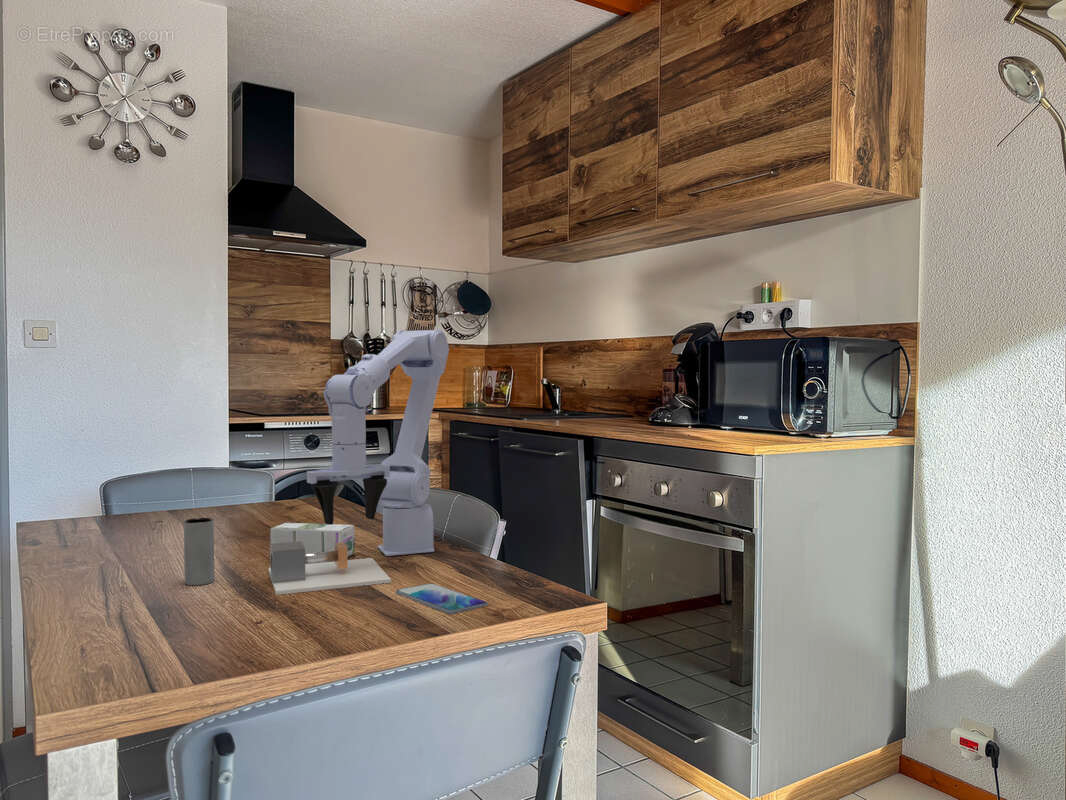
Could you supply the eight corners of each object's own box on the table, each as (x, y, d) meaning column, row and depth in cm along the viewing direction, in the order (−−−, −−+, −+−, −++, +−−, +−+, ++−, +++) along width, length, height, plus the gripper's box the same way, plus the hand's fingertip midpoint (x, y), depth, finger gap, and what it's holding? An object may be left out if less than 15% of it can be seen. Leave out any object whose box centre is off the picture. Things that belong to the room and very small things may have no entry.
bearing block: (301, 571, 132) (301, 541, 132) (305, 579, 127) (305, 548, 127) (270, 574, 130) (270, 543, 130) (273, 583, 125) (272, 551, 125)
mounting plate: (371, 561, 142) (371, 557, 142) (390, 582, 127) (390, 579, 127) (268, 571, 135) (268, 567, 135) (275, 595, 120) (275, 591, 120)
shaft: (343, 563, 134) (343, 542, 134) (347, 568, 130) (347, 547, 130) (286, 568, 130) (286, 547, 130) (288, 574, 127) (288, 552, 127)
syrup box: (269, 558, 145) (342, 562, 142) (269, 526, 144) (342, 530, 141) (285, 550, 150) (355, 555, 147) (285, 520, 150) (355, 524, 147)
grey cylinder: (220, 579, 129) (219, 518, 129) (200, 586, 125) (199, 523, 125) (198, 577, 131) (197, 516, 131) (178, 584, 127) (177, 521, 126)
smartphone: (431, 582, 126) (489, 602, 115) (431, 588, 126) (489, 608, 115) (393, 589, 121) (450, 611, 110) (393, 595, 121) (450, 617, 110)
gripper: (377, 439, 142) (378, 513, 143) (299, 444, 133) (300, 522, 134) (394, 442, 136) (395, 518, 137) (315, 447, 128) (316, 529, 128)
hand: (349, 521), depth 135 cm, fingers open, 7 cm apart
